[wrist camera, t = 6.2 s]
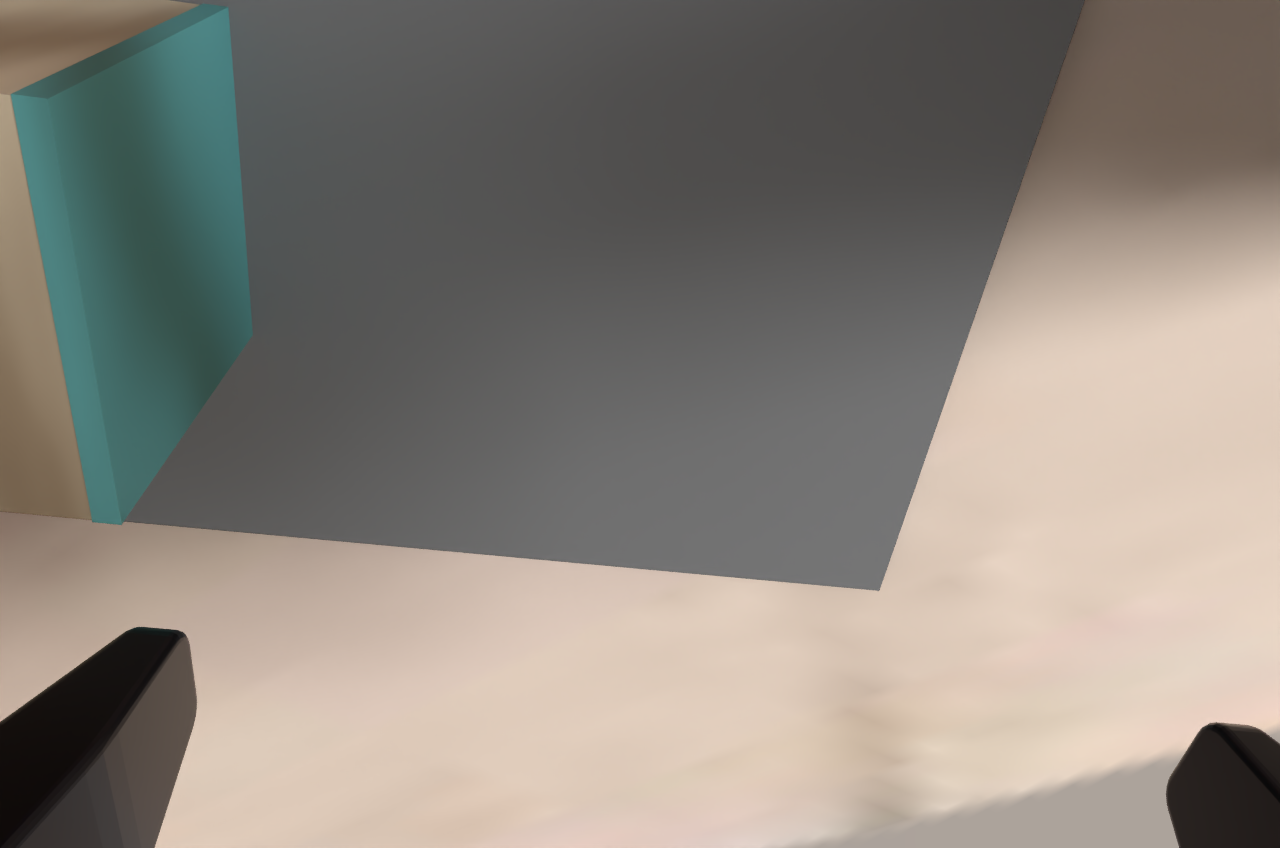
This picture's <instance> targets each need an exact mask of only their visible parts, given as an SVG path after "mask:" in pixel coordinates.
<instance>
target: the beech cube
mask: <svg viewBox="0 0 1280 848" xmlns="http://www.w3.org/2000/svg"><path fill="white" fill-rule="evenodd" d="M252 336H253V330H252V316H251V303H250V290H249V276H248V263H247V249H246V236H245V223H244V209H243V196H242V183H241V169H240V156H239V143H238V129H237V116H236V103H235V89H234V76H233V63H232V49H231V36H230V23H229V9H228V7H225V6H218V5H211V4H201V5H199V4H192V3H185V2H178V1H171V0H0V511H1V512H12V513H22V514H33V515H44V516H54V517H65V518H76V519H86V520H92V522H97V523H107V524H118V525H122V523H123V522H124V520H125V519H126V517H127V516H128V515H129V513H130V512H131V510H132V509H133V507H134V506H135V504H136V503H137V502H138V500H139V499H140V497H141V496H142V494H143V493H144V491H145V490H146V489H147V487H148V486H149V484H150V483H151V481H152V480H153V478H154V477H155V476H156V474H157V473H158V471H159V470H160V468H161V467H162V465H163V464H164V463H165V461H166V460H167V458H168V457H169V455H170V454H171V452H172V451H173V450H174V448H175V447H176V445H177V444H178V442H179V441H180V439H181V438H182V437H183V435H184V434H185V432H186V431H187V429H188V428H189V426H190V425H191V424H192V422H193V421H194V419H195V418H196V416H197V415H198V414H199V412H200V411H201V409H202V408H203V406H204V405H205V403H206V402H207V401H208V399H209V398H210V396H211V395H212V393H213V392H214V390H215V389H216V388H217V386H218V385H219V383H220V382H221V380H222V379H223V377H224V376H225V375H226V373H227V372H228V370H229V369H230V367H231V366H232V364H233V363H234V362H235V360H236V359H237V357H238V356H239V354H240V353H241V351H242V350H243V349H244V347H245V346H246V344H247V343H248V341H249V340H250V338H251V337H252Z"/></svg>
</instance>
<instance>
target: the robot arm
mask: <svg viewBox="0 0 1280 848" xmlns="http://www.w3.org/2000/svg"><path fill="white" fill-rule="evenodd" d="M196 709H197V696H196V688H195V681H194V674H193V666H192V659H191V651H190V644H189V641H188V638H187V636H186V635H185V634H184V633H183V632H181V631H178V630H171V629H159V628H148V627H136V628H133V629H130V630H128V631H126V632H125V633H123V634H122V635H120V636H119V637H117V638H116V639H115V640H113V641H112V642H111V643H109V644H108V645H106V646H105V647H104V648H102V649H101V650H99V651H98V652H97V653H95V654H94V655H92V656H91V657H90V658H88V659H87V660H86V661H84V662H83V663H81V664H80V665H79V666H77V667H76V668H74V669H73V670H72V671H70V672H69V673H68V674H66V675H65V676H63V677H62V678H61V679H59V680H58V681H56V682H55V683H54V684H52V685H51V686H50V687H48V688H47V689H45V690H44V691H43V692H41V693H40V694H38V695H37V696H36V697H34V698H33V699H32V700H30V701H29V702H27V703H26V704H25V705H23V706H22V707H20V708H19V709H18V710H16V711H15V712H14V713H12V714H11V715H9V716H8V717H7V718H5V719H4V720H2V721H1V722H0V848H155V844H156V841H157V838H158V835H159V832H160V829H161V826H162V823H163V820H164V816H165V813H166V810H167V807H168V804H169V801H170V798H171V795H172V792H173V788H174V785H175V782H176V779H177V776H178V773H179V770H180V767H181V764H182V760H183V757H184V754H185V751H186V748H187V745H188V742H189V739H190V735H191V732H192V729H193V726H194V721H195V717H196ZM1166 797H1167V798H1166V799H1167V806H1168V811H1169V814H1170V817H1171V821H1172V824H1173V827H1174V831H1175V835H1176V838H1177V841H1178V845H1179V848H1280V744H1279V743H1278V742H1277V741H1275V740H1274V739H1273V738H1271V737H1270V736H1269V735H1267V734H1266V733H1265V732H1263V731H1262V730H1260V729H1258V728H1256V727H1252V726H1249V725H1239V724H1228V723H1217V722H1216V723H1210V724H1208V725H1206V726H1204V727H1203V728H1202V729H1201V730H1200V731H1199V732H1198V734H1197V735H1196V737H1195V738H1194V740H1193V742H1192V743H1191V745H1190V746H1189V748H1188V749H1187V751H1186V752H1185V754H1184V756H1183V757H1182V759H1181V760H1180V762H1179V763H1178V765H1177V767H1176V768H1175V770H1174V771H1173V773H1172V774H1171V776H1170V778H1169V780H1168V784H1167V791H1166Z"/></svg>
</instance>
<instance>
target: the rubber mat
mask: <svg viewBox="0 0 1280 848" xmlns="http://www.w3.org/2000/svg"><path fill="white" fill-rule="evenodd" d="M171 1H178V2H185V3H192V4H199V5H201V4H211V5H218V6H225V7H228V9H229V23H230V36H231V49H232V63H233V76H234V89H235V103H236V116H237V129H238V143H239V156H240V169H241V183H242V196H243V209H244V223H245V236H246V249H247V263H248V276H249V290H250V303H251V316H252V330H253V336H252V337H251V338H250V340H249V341H248V343H247V344H246V346H245V347H244V349H243V350H242V351H241V353H240V354H239V356H238V357H237V359H236V360H235V362H234V363H233V364H232V366H231V367H230V369H229V370H228V372H227V373H226V375H225V376H224V377H223V379H222V380H221V382H220V383H219V385H218V386H217V388H216V389H215V390H214V392H213V393H212V395H211V396H210V398H209V399H208V401H207V402H206V403H205V405H204V406H203V408H202V409H201V411H200V412H199V414H198V415H197V416H196V418H195V419H194V421H193V422H192V424H191V425H190V426H189V428H188V429H187V431H186V432H185V434H184V435H183V437H182V438H181V439H180V441H179V442H178V444H177V445H176V447H175V448H174V450H173V451H172V452H171V454H170V455H169V457H168V458H167V460H166V461H165V463H164V464H163V465H162V467H161V468H160V470H159V471H158V473H157V474H156V476H155V477H154V478H153V480H152V481H151V483H150V484H149V486H148V487H147V489H146V490H145V491H144V493H143V494H142V496H141V497H140V499H139V500H138V502H137V503H136V504H135V506H134V507H133V509H132V510H131V512H130V513H129V515H128V516H127V517H126V519H125V520H124V521H125V522H135V523H146V524H157V525H168V526H179V527H190V528H201V529H212V530H223V531H234V532H245V533H255V534H266V535H277V536H288V537H299V538H310V539H321V540H332V541H343V542H354V543H365V544H375V545H386V546H397V547H408V548H419V549H430V550H441V551H452V552H463V553H474V554H484V555H495V556H506V557H517V558H528V559H539V560H550V561H561V562H572V563H583V564H594V565H604V566H615V567H626V568H637V569H648V570H659V571H670V572H681V573H692V574H703V575H714V576H724V577H735V578H746V579H757V580H768V581H779V582H790V583H801V584H812V585H823V586H833V587H844V588H855V589H866V590H877V591H879V590H880V587H881V584H882V581H883V578H884V576H885V573H886V570H887V567H888V564H889V561H890V558H891V555H892V553H893V550H894V547H895V544H896V541H897V538H898V535H899V532H900V530H901V527H902V524H903V521H904V518H905V515H906V512H907V509H908V507H909V504H910V501H911V498H912V495H913V492H914V489H915V486H916V484H917V481H918V478H919V475H920V472H921V469H922V466H923V463H924V461H925V458H926V455H927V452H928V449H929V446H930V443H931V440H932V438H933V435H934V432H935V429H936V426H937V423H938V420H939V418H940V415H941V412H942V409H943V406H944V403H945V400H946V397H947V395H948V392H949V389H950V386H951V383H952V380H953V377H954V374H955V372H956V369H957V366H958V363H959V360H960V357H961V354H962V351H963V349H964V346H965V343H966V340H967V337H968V334H969V331H970V328H971V326H972V323H973V320H974V317H975V314H976V311H977V308H978V305H979V303H980V300H981V297H982V294H983V291H984V288H985V285H986V282H987V280H988V277H989V274H990V271H991V268H992V265H993V262H994V260H995V257H996V254H997V251H998V248H999V245H1000V242H1001V239H1002V237H1003V234H1004V231H1005V228H1006V225H1007V222H1008V219H1009V216H1010V214H1011V211H1012V208H1013V205H1014V202H1015V199H1016V196H1017V193H1018V191H1019V188H1020V185H1021V182H1022V179H1023V176H1024V173H1025V170H1026V168H1027V165H1028V162H1029V159H1030V156H1031V153H1032V150H1033V147H1034V145H1035V142H1036V139H1037V136H1038V133H1039V130H1040V127H1041V125H1042V122H1043V119H1044V116H1045V113H1046V110H1047V107H1048V104H1049V102H1050V99H1051V96H1052V93H1053V90H1054V87H1055V84H1056V81H1057V79H1058V76H1059V73H1060V70H1061V67H1062V64H1063V61H1064V58H1065V56H1066V53H1067V50H1068V47H1069V44H1070V41H1071V38H1072V35H1073V33H1074V30H1075V27H1076V24H1077V21H1078V18H1079V15H1080V12H1081V10H1082V7H1083V4H1084V1H1085V0H171Z"/></svg>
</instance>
